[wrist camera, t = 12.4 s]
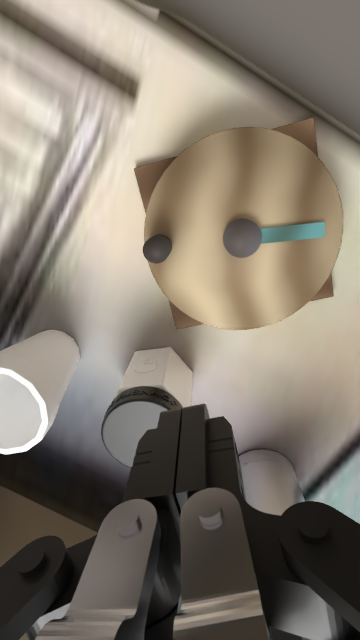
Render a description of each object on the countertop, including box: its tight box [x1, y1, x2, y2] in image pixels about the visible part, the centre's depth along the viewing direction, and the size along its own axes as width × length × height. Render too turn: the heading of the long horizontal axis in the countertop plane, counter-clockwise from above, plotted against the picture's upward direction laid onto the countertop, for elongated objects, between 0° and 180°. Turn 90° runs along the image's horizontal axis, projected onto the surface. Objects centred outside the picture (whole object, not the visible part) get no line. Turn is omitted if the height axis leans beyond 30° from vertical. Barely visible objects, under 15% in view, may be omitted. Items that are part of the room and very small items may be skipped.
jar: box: [101, 347, 193, 468], centre depth 37 cm, size 9×8×12 cm
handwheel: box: [143, 127, 343, 330], centre depth 32 cm, size 19×19×4 cm
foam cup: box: [0, 329, 80, 454], centre depth 37 cm, size 10×9×13 cm
